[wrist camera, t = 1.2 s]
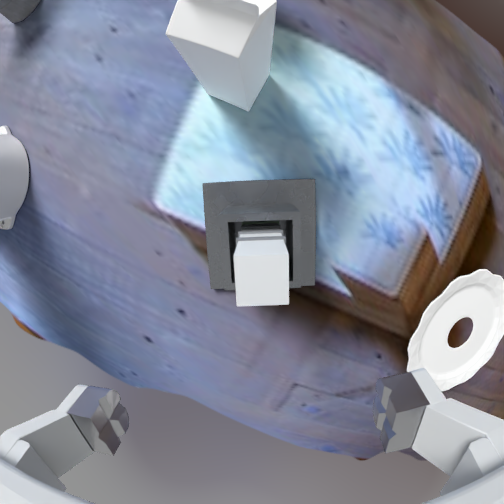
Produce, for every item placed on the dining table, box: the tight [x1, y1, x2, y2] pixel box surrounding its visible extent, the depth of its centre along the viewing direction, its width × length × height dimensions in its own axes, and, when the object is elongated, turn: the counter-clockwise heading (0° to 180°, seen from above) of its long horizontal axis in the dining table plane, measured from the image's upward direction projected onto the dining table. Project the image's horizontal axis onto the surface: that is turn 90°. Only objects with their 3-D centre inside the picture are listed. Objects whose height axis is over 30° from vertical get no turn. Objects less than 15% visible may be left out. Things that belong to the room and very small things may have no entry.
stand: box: [203, 179, 316, 290], centre depth 34 cm, size 14×14×10 cm
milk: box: [166, 0, 277, 112], centre depth 23 cm, size 6×6×22 cm
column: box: [234, 220, 289, 306], centre depth 30 cm, size 4×4×16 cm
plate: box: [406, 269, 504, 392], centre depth 42 cm, size 25×25×2 cm
